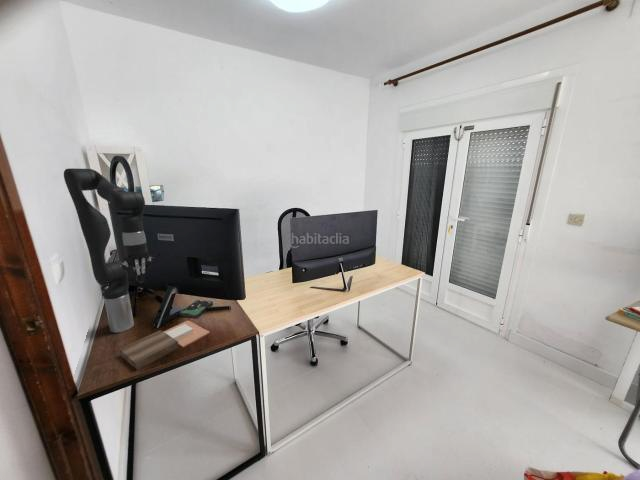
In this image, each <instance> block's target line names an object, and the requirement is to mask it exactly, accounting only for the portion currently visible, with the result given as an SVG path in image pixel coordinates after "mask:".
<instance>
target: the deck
mask: <svg viewBox="0 0 640 480" xmlns="http://www.w3.org/2000/svg"><path fill="white" fill-rule="evenodd" d="M178 348H180V345H178V341H176V340H175V339H173V338H172V337H170V336H169V335H167V334H165V333H164V331H162V330H161V329H160V330H158V331H155V332H153V333H151V334H149V335H145V337H142V338H140V339H138V340H136V341H133V342H132V343H129V344H126V345H124V346H123V347H120V348H119V355H120V356H121V357H122V358H123V359H124V360H125V361H126V362H127V363H128V364H130V365H131V366H132V367H133V368H134V369H136V371H137V370H140V369H142V368H143V367H146V366H148V365H149V364H151V363H153V362H155V361H157V360H158V359H161V358H162V357H164V356H166V355H167V354H168V355H169V354H170V353H171V352H174V351H175V350H177V349H178Z"/></svg>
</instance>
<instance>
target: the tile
mask: <svg viewBox="0 0 640 480" xmlns="http://www.w3.org/2000/svg"><path fill="white" fill-rule="evenodd" d="M165 334H167V335H169V336H170V337H172V338H173V339H175V340H176V341H179V340H181V339H183V338H185V337H187V336H189V335H191V334H193V328H191V327H189V326H188V325H186V324H184V325H181V326H179V327H177V328H175V329H173V330H170V331H168V332H166V333H165Z"/></svg>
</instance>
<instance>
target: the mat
mask: <svg viewBox="0 0 640 480" xmlns="http://www.w3.org/2000/svg"><path fill="white" fill-rule="evenodd" d="M184 324H186V325H188V326H189V327H191V328H193V334H191V335H189V336H187V337H185V338H183V339H181V340H179V341H178V345H179V347H180V348H185V347H187V346H189V345H191V344H192V343H195V342H196V341H198V340H199V339H201V338H203V337H205V336H206V335H208V334H210V333H211V332H210V331H209V330H207V329H205V328H203V327H201V326H199V324H196V323H194V322H192V321H191V320H186V321H184V322H183V321H182V322H181V323H179V324H177V325H175V326H173V327H171V328H168V329H166V330H165V331H163V332H164V333H166V332H168V331H170V330H173V329H175V328H177V327H179V326H181V325H184Z"/></svg>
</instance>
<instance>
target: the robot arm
mask: <svg viewBox="0 0 640 480" xmlns="http://www.w3.org/2000/svg"><path fill="white" fill-rule="evenodd" d="M63 179H64V183H65V185H66V188H67V190H68V192H69V195H70V198H71V200H72V202H73V205H74V207H75V210H76V214H77V218H78V221H79V225H80V230H81V231H82V235H83V237H84V241H85V242H86V247H87V249H88V253H89V258H90V262H91V263H90V264H91V268H92V273H93V277H94V279H95V281H96V283H97V284H98V285H100V286H107V285H109V286H108V287H107V288H105V289H104V291H103V292H102V296H103V301H104V306H105V311H106V314H107V315H106V316H107V321H108V326H109V331H110V333H122V332H126V331H128V330H129V329H132V327H134V325H135V323H134V317H133V311H132V305H131V299H130V294H129V287H130V284H129V277H128V274H130V275H131V276H132V275H133V276H135V280H136V282H138V283H140V284H143V283H145V281H146V274H145V273H146V272H149V271H150V270H151V268H152V267H153V265H154V263H155V261H156V258H155V257H152V256H150V254H149V252H148V246H147V244H148V243H147V238H146V234H145V231H144V224H143V219H144V211H145V206H146V199H145V197H144V196H143V194H142V193H141V192H139V191H126V190H125V188H122V187H121V186H118V185H116V184H114V183H112V182H110V181H109V180H108V179H107V178H106V177H104V176H103V175H102V174H101V173H100V172H99V171H97V170H95V169H92V168H76V167H75V168H66V169H65V170H64V171H63ZM83 191H96V193H97V195H98V196H99V197H100V198H102V199H103V200H105V201H107V202H109V204H110V205H111V207H112V208H113V209H114V210H116V211H121V212H122V211H123V212H126V211H130V214H128V215H125V216H123V217H121V218H120V219H119V221H120V222H119V223H120V227H121V233H122V235H121V237H122V244H123V245H122V246H123V250H124V255H125V256H124V261H121V260H114V261H110V262H106V259H105V256H106V255H105V253H106V249H107V246H108V245H109V244H108V243H109V241H110V239H111V235H112V232H111V228H110V224H109V222H108V218H107V217H106V216H104V214H102V212H100V211H99V210H98V209H96V208H95V207H94V206H93V205H92V204H91V203H90V202H89V200H88V199H87V198H86V195H85V194H84V192H83ZM129 265H130V266H131V267H132V269H133V270H132V269H130V268H129Z"/></svg>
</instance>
